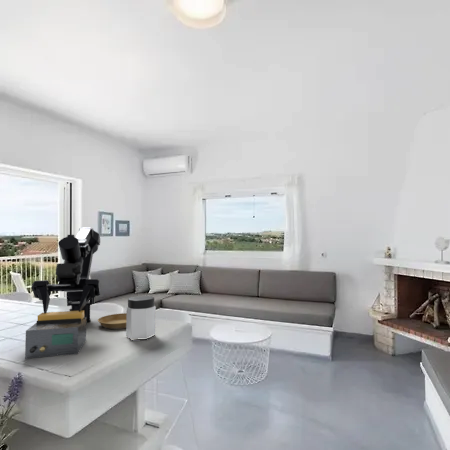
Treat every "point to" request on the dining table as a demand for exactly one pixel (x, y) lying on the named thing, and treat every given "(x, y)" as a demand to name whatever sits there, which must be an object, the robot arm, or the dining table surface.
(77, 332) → the box
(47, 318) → the key
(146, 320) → the jar
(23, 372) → the dining table surface
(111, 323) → the plant saucer
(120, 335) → the dining table surface
